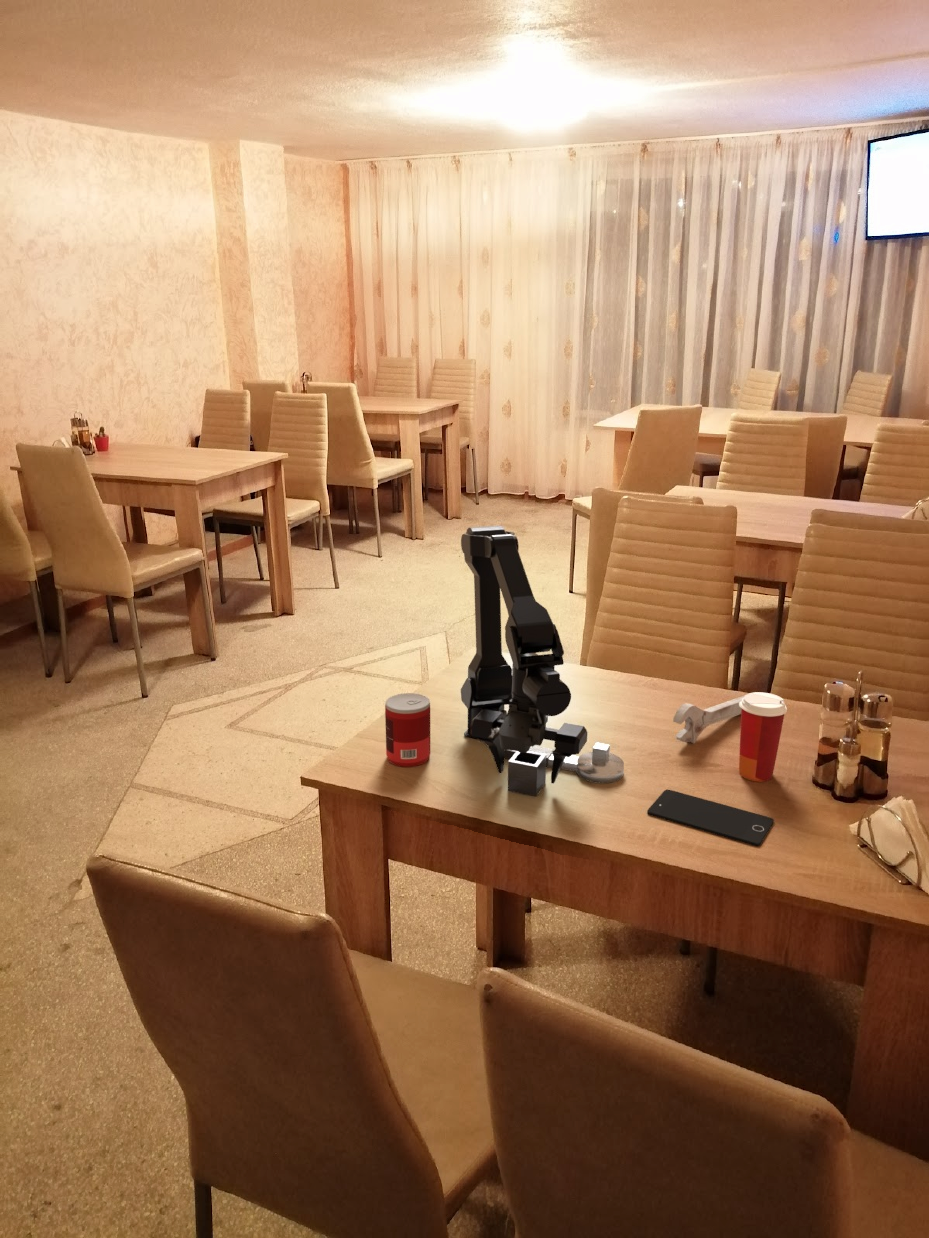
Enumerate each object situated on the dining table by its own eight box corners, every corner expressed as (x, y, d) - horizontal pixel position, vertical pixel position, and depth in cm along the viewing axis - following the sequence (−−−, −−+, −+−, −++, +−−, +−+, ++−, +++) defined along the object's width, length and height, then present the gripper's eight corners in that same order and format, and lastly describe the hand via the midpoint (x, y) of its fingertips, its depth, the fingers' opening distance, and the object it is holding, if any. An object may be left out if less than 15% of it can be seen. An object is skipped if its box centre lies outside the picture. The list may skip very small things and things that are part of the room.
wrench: (756, 720, 192) (677, 751, 171) (748, 718, 193) (668, 747, 172) (763, 683, 190) (683, 709, 169) (755, 680, 191) (674, 706, 170)
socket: (507, 790, 158) (508, 761, 156) (517, 777, 162) (518, 748, 160) (536, 796, 156) (537, 766, 154) (545, 783, 160) (546, 754, 158)
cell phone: (758, 849, 142) (759, 844, 142) (645, 816, 151) (646, 811, 151) (774, 823, 149) (775, 818, 149) (665, 793, 158) (666, 788, 158)
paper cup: (779, 767, 166) (788, 694, 162) (778, 787, 159) (787, 711, 155) (733, 760, 168) (741, 688, 164) (730, 780, 162) (738, 705, 157)
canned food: (439, 757, 169) (439, 700, 166) (407, 772, 164) (406, 714, 160) (409, 744, 174) (409, 688, 171) (377, 758, 169) (376, 701, 165)
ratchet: (500, 764, 167) (500, 738, 165) (515, 745, 174) (515, 720, 172) (616, 786, 159) (618, 760, 157) (627, 766, 166) (629, 740, 164)
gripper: (457, 700, 150) (457, 788, 155) (570, 719, 143) (566, 810, 148) (482, 676, 159) (481, 759, 164) (590, 693, 153) (585, 779, 158)
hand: (526, 777), depth 158 cm, fingers open, 9 cm apart
